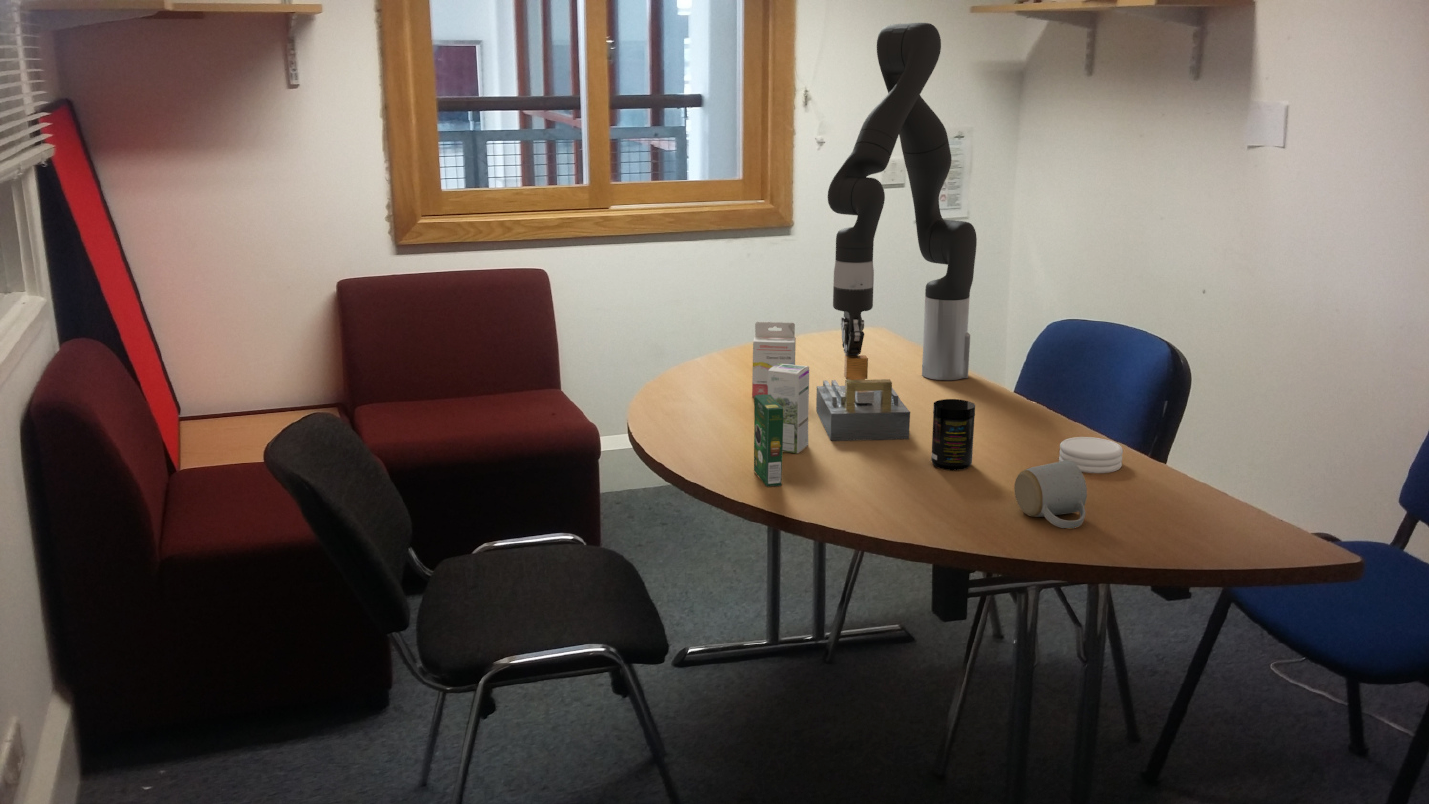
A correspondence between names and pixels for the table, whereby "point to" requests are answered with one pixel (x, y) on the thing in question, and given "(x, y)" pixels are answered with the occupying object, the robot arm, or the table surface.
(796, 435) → the syrup box
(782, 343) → the ink cartridge box
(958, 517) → the table surface
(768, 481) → the coffee box
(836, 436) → the heatsink block
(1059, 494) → the ceramic mug
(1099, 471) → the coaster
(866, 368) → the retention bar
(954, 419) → the supplement container
